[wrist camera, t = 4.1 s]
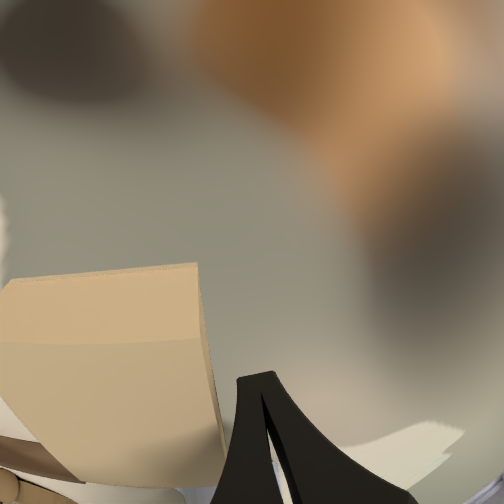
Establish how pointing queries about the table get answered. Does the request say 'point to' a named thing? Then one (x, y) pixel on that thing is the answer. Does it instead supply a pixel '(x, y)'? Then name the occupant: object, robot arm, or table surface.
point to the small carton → (115, 374)
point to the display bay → (33, 460)
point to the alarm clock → (26, 492)
